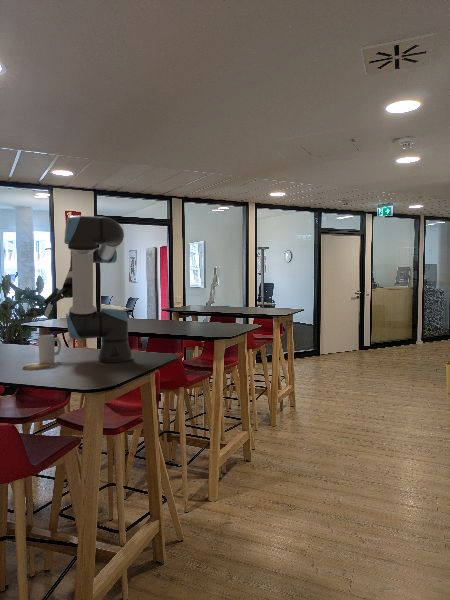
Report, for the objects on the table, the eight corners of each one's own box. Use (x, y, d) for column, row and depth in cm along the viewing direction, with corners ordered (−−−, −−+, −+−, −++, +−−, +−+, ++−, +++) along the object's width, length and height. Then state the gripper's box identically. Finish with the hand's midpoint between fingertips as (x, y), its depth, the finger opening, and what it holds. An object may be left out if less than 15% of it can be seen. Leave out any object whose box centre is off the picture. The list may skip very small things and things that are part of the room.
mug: (42, 364, 201) (41, 337, 200) (36, 362, 205) (35, 335, 205) (64, 361, 208) (64, 335, 207) (58, 359, 213) (57, 333, 212)
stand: (56, 366, 197) (55, 364, 197) (32, 371, 188) (32, 368, 188) (40, 363, 203) (40, 361, 203) (17, 368, 194) (17, 365, 194)
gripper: (99, 287, 232) (88, 320, 218) (51, 287, 235) (37, 320, 221) (94, 277, 227) (83, 310, 213) (46, 277, 229) (31, 310, 215)
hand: (60, 315), depth 217 cm, fingers open, 13 cm apart
